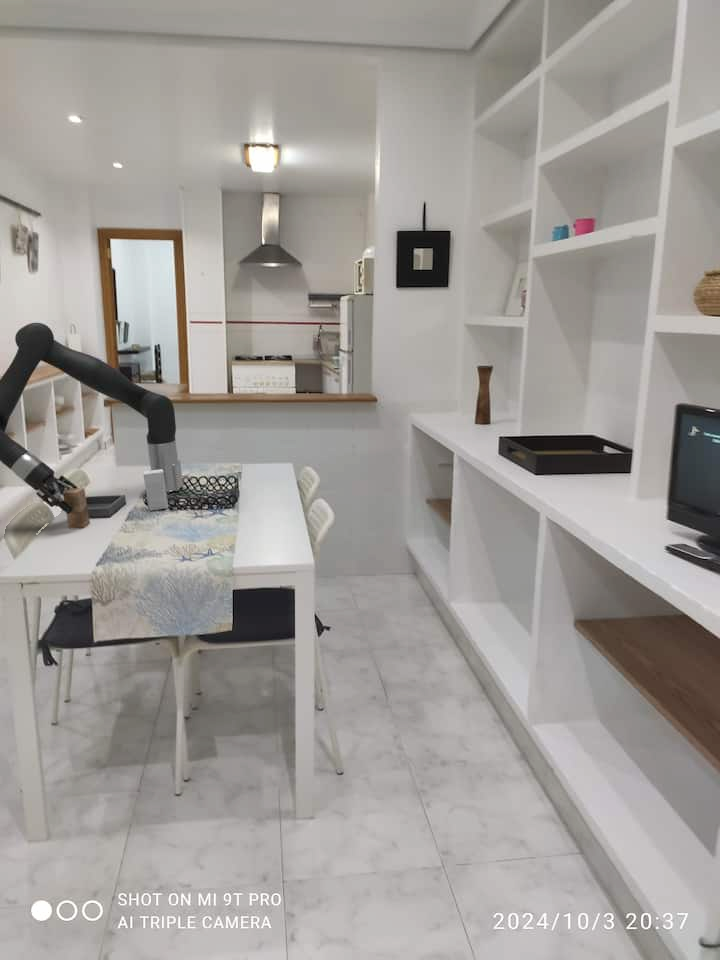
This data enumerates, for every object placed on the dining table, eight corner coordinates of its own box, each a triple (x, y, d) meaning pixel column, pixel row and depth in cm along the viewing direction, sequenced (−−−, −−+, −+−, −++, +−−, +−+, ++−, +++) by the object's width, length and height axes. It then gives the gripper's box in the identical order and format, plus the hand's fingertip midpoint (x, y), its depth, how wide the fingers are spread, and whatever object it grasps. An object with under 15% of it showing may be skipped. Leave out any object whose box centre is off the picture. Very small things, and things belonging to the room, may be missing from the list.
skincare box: (167, 504, 224) (163, 468, 221) (168, 508, 220) (163, 471, 217) (148, 507, 222) (143, 471, 219) (148, 511, 218) (143, 474, 215)
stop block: (89, 523, 210) (84, 488, 207) (83, 528, 205) (77, 492, 203) (75, 523, 210) (69, 488, 207) (69, 528, 206) (62, 493, 203)
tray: (126, 503, 228) (125, 494, 227) (110, 517, 214) (108, 508, 213) (87, 505, 228) (85, 496, 227) (68, 519, 215) (66, 509, 214)
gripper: (28, 468, 196) (74, 505, 198) (51, 456, 210) (94, 491, 212) (13, 487, 198) (59, 523, 200) (37, 473, 211) (80, 508, 214)
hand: (77, 506), depth 206 cm, fingers open, 8 cm apart
